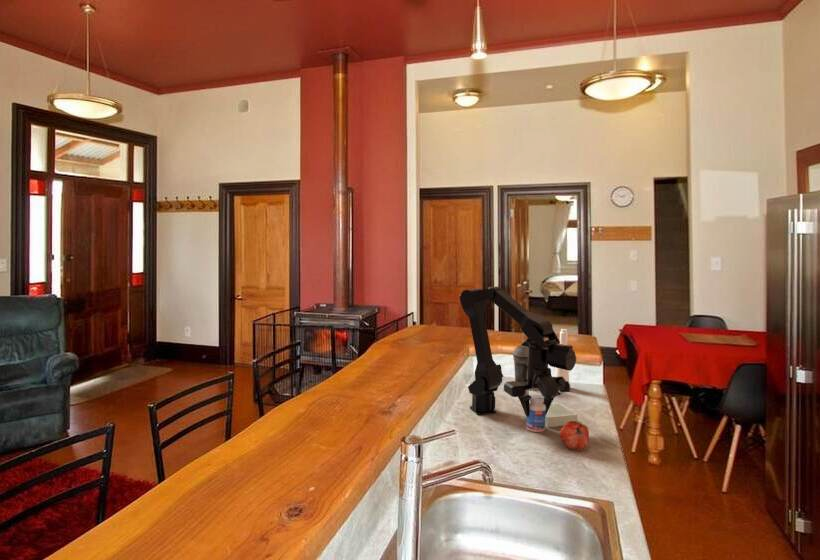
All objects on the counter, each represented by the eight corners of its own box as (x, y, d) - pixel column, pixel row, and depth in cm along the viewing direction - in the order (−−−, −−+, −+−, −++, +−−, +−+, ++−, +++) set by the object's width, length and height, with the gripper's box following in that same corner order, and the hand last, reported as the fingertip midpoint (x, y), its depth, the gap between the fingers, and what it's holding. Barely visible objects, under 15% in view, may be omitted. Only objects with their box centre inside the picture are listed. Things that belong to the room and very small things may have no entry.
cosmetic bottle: (549, 385, 184) (552, 328, 181) (564, 384, 185) (566, 327, 183) (558, 391, 178) (561, 331, 176) (573, 390, 179) (576, 330, 177)
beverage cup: (512, 388, 181) (513, 334, 179) (511, 382, 188) (513, 330, 186) (532, 389, 179) (534, 335, 177) (531, 383, 186) (533, 331, 184)
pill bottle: (534, 433, 140) (535, 400, 139) (522, 427, 145) (523, 394, 144) (549, 430, 143) (550, 397, 142) (536, 423, 147) (537, 392, 146)
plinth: (547, 427, 145) (547, 417, 145) (530, 414, 154) (530, 405, 154) (576, 423, 148) (577, 414, 147) (558, 412, 157) (558, 402, 157)
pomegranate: (556, 451, 134) (561, 442, 126) (558, 424, 138) (564, 414, 130) (584, 456, 133) (592, 448, 124) (585, 430, 136) (593, 419, 128)
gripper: (522, 373, 131) (520, 429, 133) (583, 368, 137) (580, 422, 138) (503, 362, 142) (502, 414, 144) (560, 358, 147) (558, 408, 149)
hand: (536, 415), depth 143 cm, fingers closed on pill bottle, 5 cm apart
